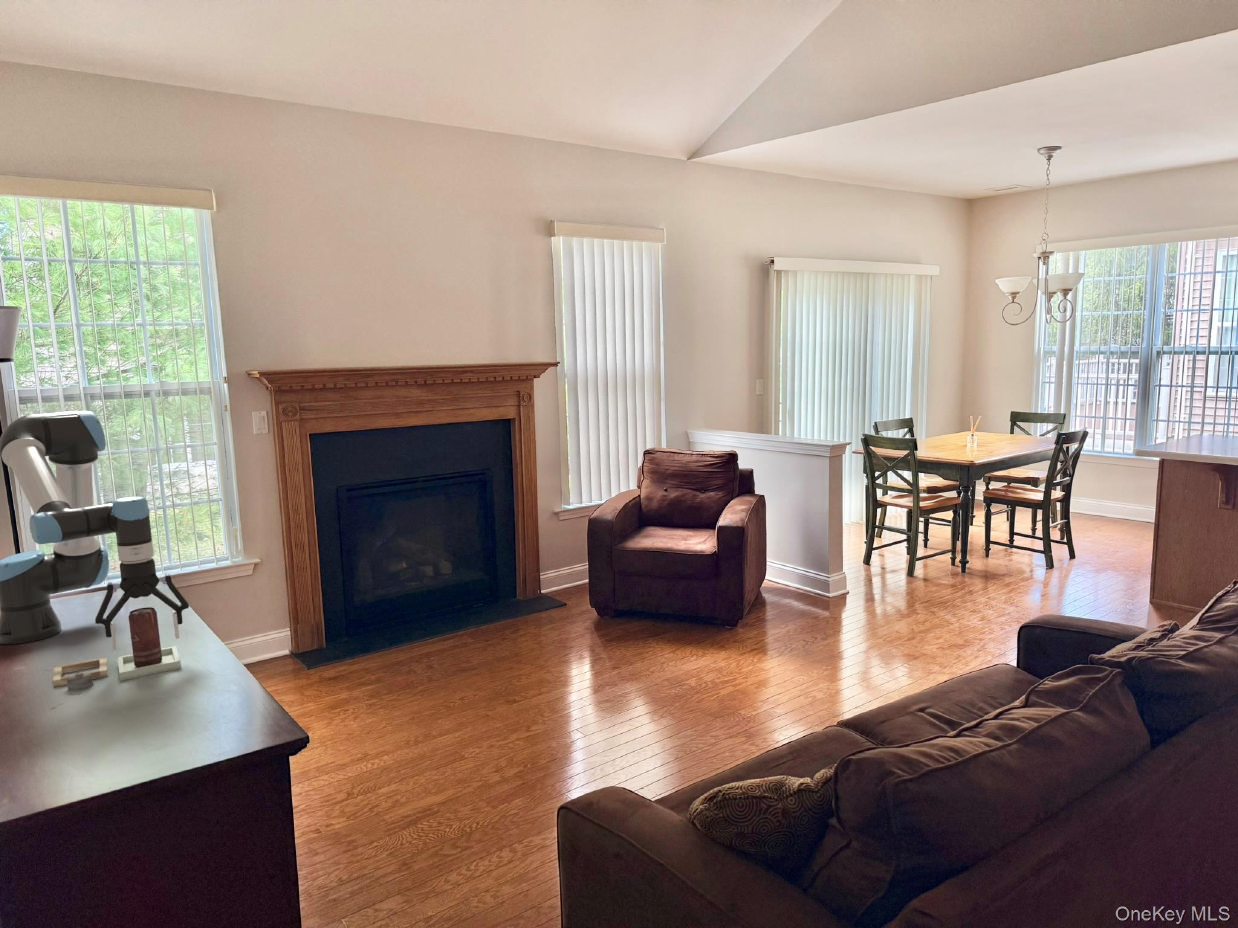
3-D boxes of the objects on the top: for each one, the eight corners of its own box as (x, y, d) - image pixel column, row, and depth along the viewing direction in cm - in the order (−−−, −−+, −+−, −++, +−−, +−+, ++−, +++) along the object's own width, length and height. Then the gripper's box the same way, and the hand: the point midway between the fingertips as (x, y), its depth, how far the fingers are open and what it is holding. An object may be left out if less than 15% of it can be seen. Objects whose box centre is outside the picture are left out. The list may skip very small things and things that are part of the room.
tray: (118, 664, 212) (117, 657, 212) (176, 653, 219) (175, 645, 218) (120, 680, 201) (119, 672, 201) (180, 668, 208) (179, 660, 207)
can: (151, 669, 206) (144, 614, 204) (128, 668, 207) (122, 613, 206) (168, 660, 212) (162, 606, 210) (147, 659, 213) (140, 606, 211)
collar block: (55, 672, 208) (53, 660, 208) (107, 662, 214) (105, 650, 213) (52, 696, 193) (50, 682, 193) (108, 684, 199) (106, 671, 198)
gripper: (76, 571, 197) (87, 658, 199) (194, 554, 209) (203, 636, 212) (77, 565, 203) (88, 649, 206) (191, 549, 216) (200, 628, 219)
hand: (146, 643), depth 209 cm, fingers open, 13 cm apart
